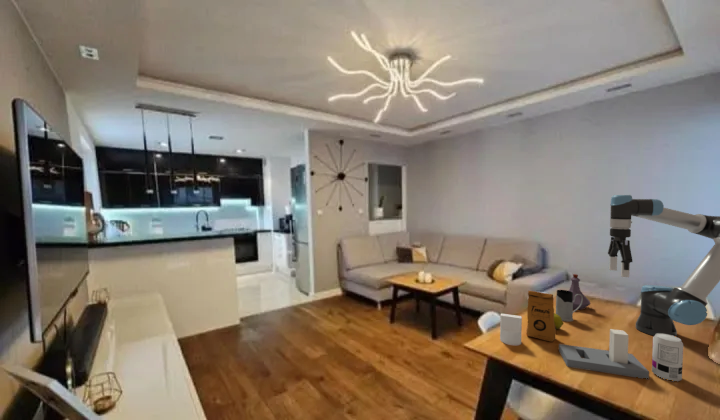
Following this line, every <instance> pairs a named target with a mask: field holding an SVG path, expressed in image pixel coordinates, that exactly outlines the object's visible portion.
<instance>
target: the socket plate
mask: <svg viewBox="0 0 720 420" xmlns="http://www.w3.org/2000/svg"><path fill="white" fill-rule="evenodd" d="M558 352H559V354H560V357H562V359H563V362H564V364H565V365H566V366H567V367H568V368H574V369H580V370H587V371H593V372H599V373H606V374H612V375H618V376H624V377H625V376H626V377H631V378H636V377H638V379H643V378H646V379H645V380H649V379H650V375H649V374H650V372H649V369H647V367H645V366H644V365H643V364H642V363H641V362H640V360H638V359H637V357H635V356H634V354H633V353H629V352H628V364H624V363H617V362H611V360H610V359H609V350H605V349H601V348H593V347H592V348H591V347H584V346H578V345H572V344H571V345H570V344H563V343H558ZM647 378H648V379H647Z"/></svg>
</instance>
